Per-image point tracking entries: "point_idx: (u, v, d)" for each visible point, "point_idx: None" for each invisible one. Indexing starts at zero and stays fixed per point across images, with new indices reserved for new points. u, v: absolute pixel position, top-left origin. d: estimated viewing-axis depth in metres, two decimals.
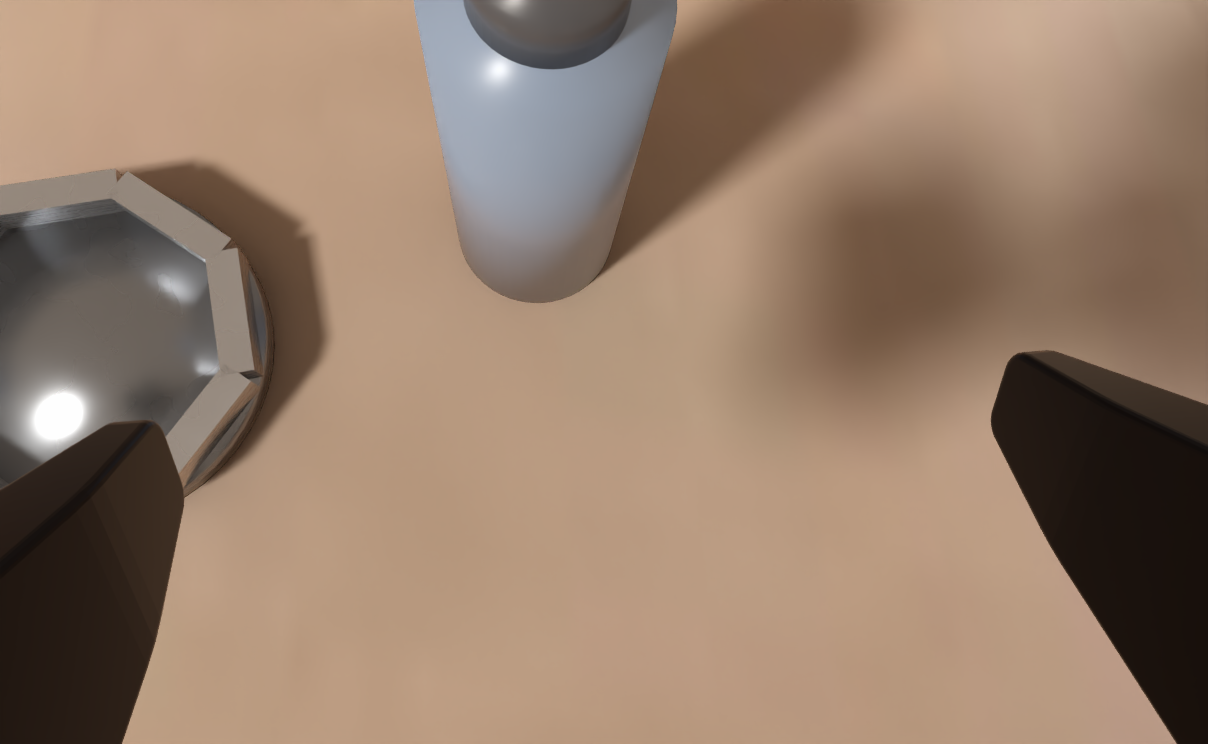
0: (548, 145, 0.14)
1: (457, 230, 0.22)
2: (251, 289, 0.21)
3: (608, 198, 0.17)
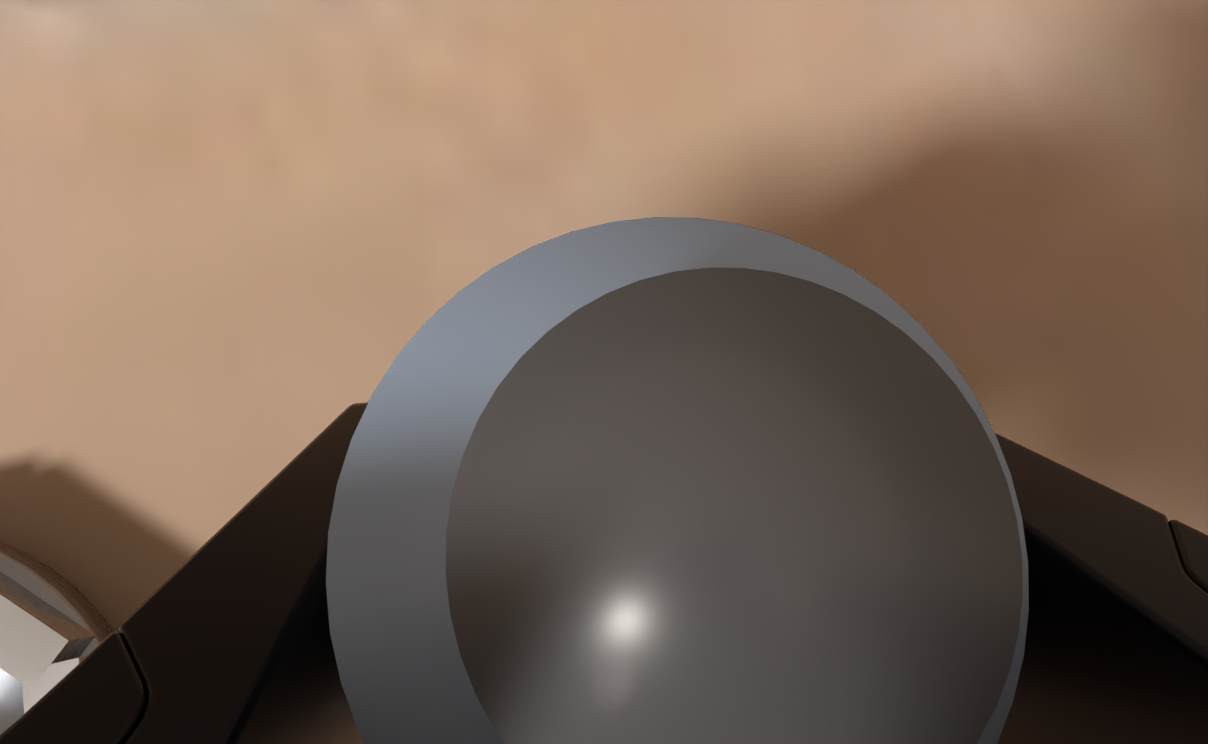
0: None
1: None
2: None
3: None
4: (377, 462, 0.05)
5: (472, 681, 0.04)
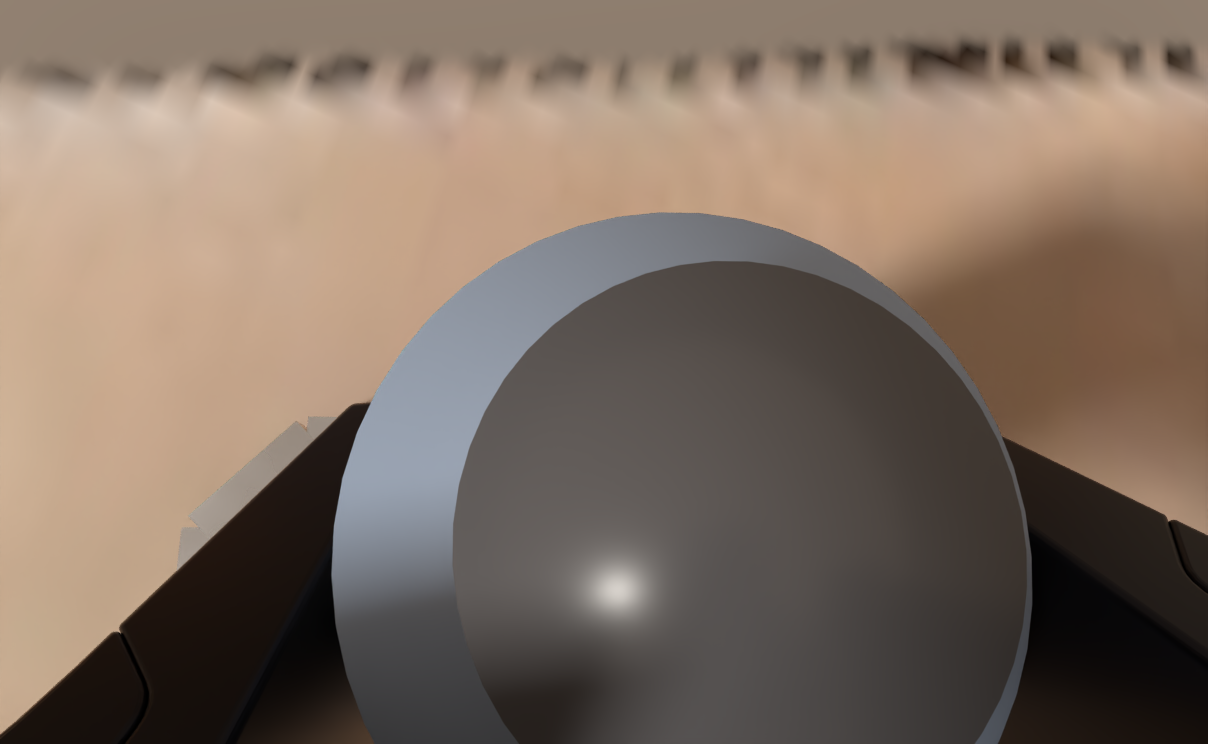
0: None
1: None
2: None
3: None
4: (382, 456, 0.05)
5: (479, 671, 0.04)
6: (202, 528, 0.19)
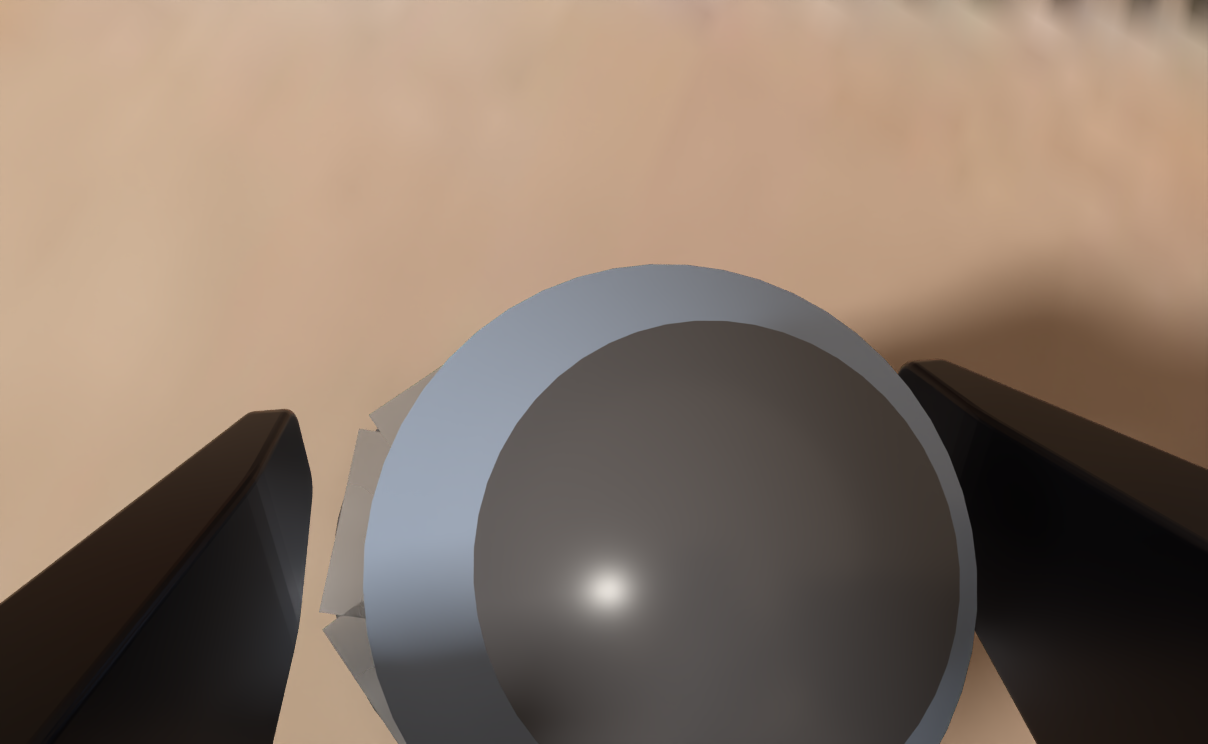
0: None
1: None
2: None
3: None
4: (406, 483, 0.06)
5: (497, 671, 0.04)
6: (384, 433, 0.15)
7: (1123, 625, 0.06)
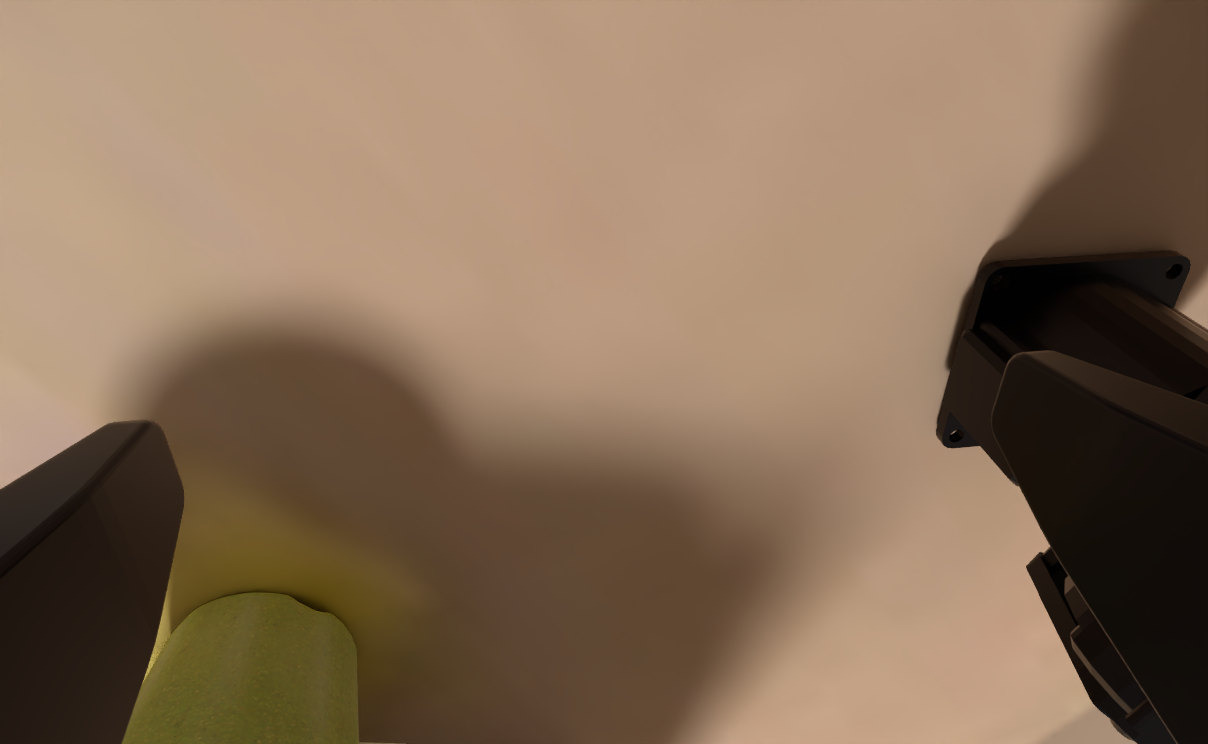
0: None
1: None
2: None
3: None
4: None
5: None
6: None
7: None
